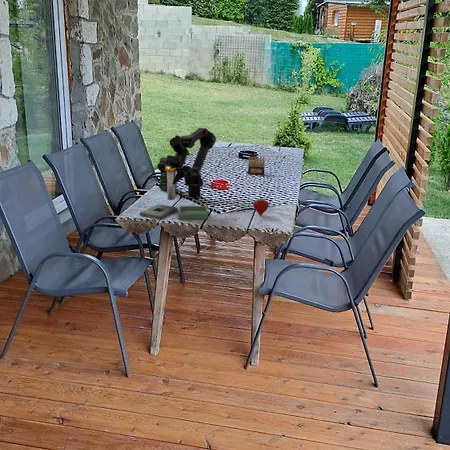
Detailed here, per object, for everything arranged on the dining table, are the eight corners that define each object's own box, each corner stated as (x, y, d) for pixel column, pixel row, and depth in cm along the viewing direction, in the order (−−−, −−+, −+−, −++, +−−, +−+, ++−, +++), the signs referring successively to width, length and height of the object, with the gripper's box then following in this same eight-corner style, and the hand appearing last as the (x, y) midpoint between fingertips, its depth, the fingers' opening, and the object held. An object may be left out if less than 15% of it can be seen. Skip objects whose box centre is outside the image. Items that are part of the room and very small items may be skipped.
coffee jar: (158, 190, 302) (157, 158, 296) (163, 187, 310) (162, 155, 304) (173, 191, 300) (173, 159, 294) (178, 188, 307) (178, 156, 301)
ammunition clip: (247, 174, 342) (248, 156, 339) (247, 173, 344) (248, 155, 340) (264, 175, 341) (264, 156, 337) (264, 174, 343) (265, 156, 339)
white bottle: (178, 198, 268) (178, 167, 263) (171, 201, 265) (170, 169, 259) (171, 196, 272) (170, 165, 266) (164, 199, 268) (163, 167, 262)
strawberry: (268, 217, 258) (269, 197, 255) (253, 217, 258) (254, 197, 255) (267, 213, 264) (268, 194, 261) (252, 213, 264) (253, 193, 260)
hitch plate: (158, 206, 272) (158, 204, 271) (178, 210, 267) (178, 207, 266) (139, 215, 259) (139, 212, 258) (160, 219, 253) (159, 216, 253)
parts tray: (179, 210, 266) (179, 205, 265) (207, 210, 267) (207, 206, 266) (178, 219, 253) (178, 214, 252) (207, 219, 254) (207, 214, 253)
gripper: (158, 147, 267) (147, 173, 261) (190, 150, 260) (180, 177, 254) (166, 159, 276) (156, 184, 271) (198, 162, 269) (188, 189, 263)
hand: (169, 183), depth 264 cm, fingers closed on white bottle, 4 cm apart
